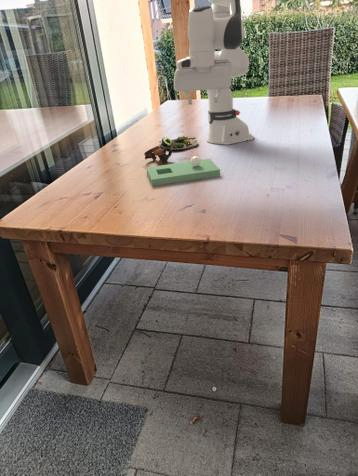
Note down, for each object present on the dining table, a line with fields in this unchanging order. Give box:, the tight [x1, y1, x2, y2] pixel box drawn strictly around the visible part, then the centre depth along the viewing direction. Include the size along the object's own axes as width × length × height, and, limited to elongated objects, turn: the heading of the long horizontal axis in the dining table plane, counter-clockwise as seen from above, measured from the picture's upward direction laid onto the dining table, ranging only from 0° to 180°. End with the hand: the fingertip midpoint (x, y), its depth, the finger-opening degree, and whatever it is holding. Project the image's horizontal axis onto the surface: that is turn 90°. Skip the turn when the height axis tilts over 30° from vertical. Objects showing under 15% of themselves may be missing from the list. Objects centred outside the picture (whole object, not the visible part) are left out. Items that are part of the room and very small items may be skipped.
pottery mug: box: [143, 145, 173, 166], centre depth 160 cm, size 12×10×8 cm
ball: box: [190, 155, 202, 167], centre depth 145 cm, size 4×4×4 cm
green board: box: [146, 158, 221, 187], centre depth 146 cm, size 26×14×2 cm, turn 102°
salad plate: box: [158, 135, 199, 153], centre depth 181 cm, size 19×18×5 cm
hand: (202, 103), depth 135 cm, fingers open, 8 cm apart
